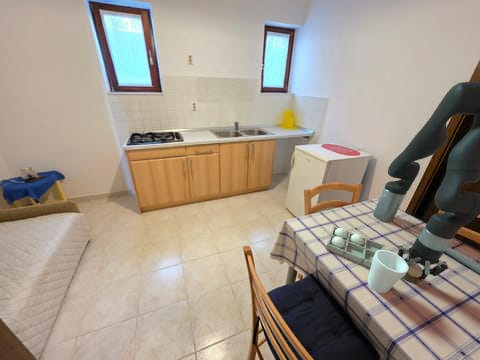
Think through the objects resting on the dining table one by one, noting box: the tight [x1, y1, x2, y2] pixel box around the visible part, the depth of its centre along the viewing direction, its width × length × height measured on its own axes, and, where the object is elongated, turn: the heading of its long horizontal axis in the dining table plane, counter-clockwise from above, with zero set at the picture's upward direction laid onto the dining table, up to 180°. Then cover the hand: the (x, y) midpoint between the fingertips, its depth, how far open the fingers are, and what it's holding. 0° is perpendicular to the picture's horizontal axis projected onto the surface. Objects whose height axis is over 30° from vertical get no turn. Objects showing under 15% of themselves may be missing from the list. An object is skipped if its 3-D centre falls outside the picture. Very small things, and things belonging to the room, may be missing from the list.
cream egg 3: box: [351, 233, 364, 245], centre depth 88 cm, size 5×5×5 cm
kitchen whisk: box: [401, 219, 480, 274], centre depth 87 cm, size 6×34×6 cm, turn 26°
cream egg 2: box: [332, 237, 344, 248], centre depth 86 cm, size 5×5×5 cm
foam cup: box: [367, 249, 409, 294], centre depth 69 cm, size 10×9×13 cm
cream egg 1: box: [335, 227, 347, 239], centre depth 91 cm, size 5×5×5 cm
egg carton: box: [325, 226, 386, 269], centre depth 86 cm, size 14×21×3 cm
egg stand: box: [401, 273, 421, 285], centre depth 75 cm, size 5×5×2 cm
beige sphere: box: [407, 263, 423, 277], centre depth 74 cm, size 5×5×5 cm
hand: (410, 274), depth 75 cm, fingers closed on beige sphere, 5 cm apart
